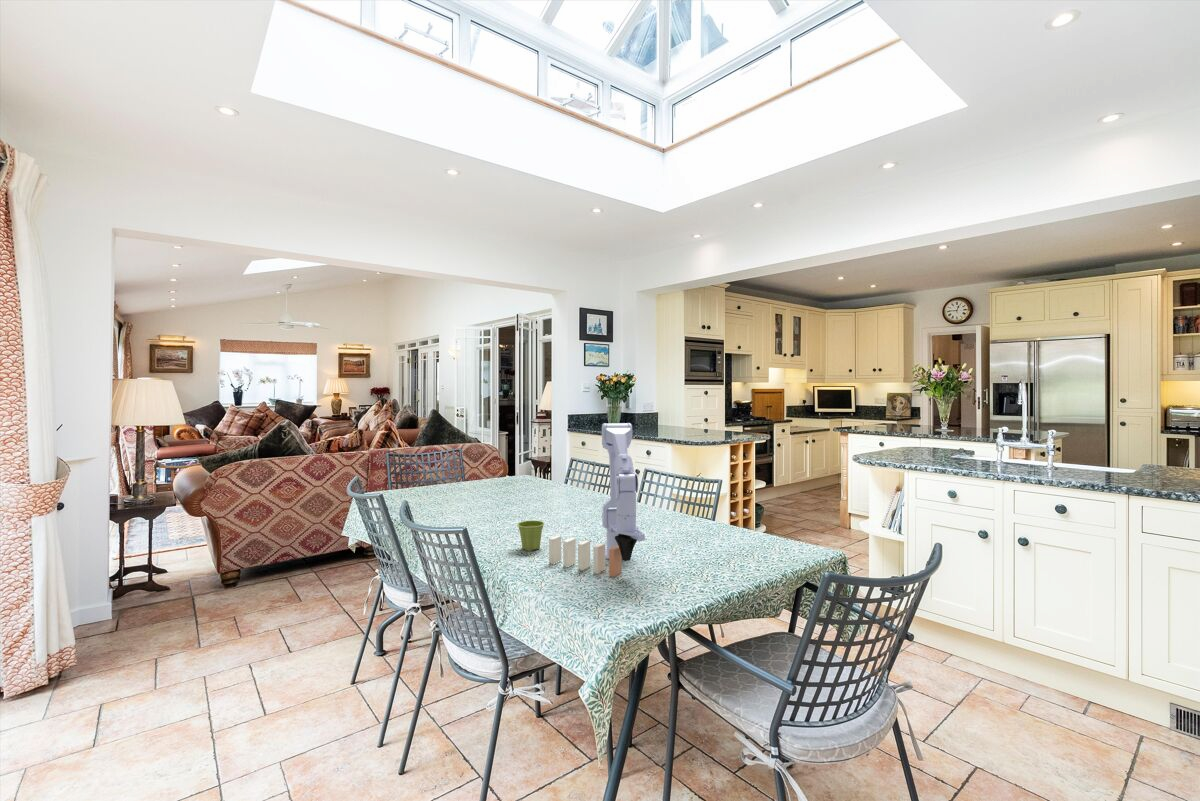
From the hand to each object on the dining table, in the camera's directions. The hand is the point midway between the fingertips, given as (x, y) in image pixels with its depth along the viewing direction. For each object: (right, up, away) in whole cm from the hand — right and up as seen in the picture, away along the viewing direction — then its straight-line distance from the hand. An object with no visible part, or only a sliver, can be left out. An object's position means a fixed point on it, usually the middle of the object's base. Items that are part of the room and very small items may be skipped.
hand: (626, 560), depth 159 cm
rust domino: (-3, -5, +2) cm, 6 cm away
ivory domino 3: (-13, -5, +8) cm, 16 cm away
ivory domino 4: (-8, -5, +5) cm, 10 cm away
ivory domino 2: (-17, -5, +10) cm, 21 cm away
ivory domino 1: (-22, -5, +13) cm, 26 cm away
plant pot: (-32, -5, +28) cm, 43 cm away
